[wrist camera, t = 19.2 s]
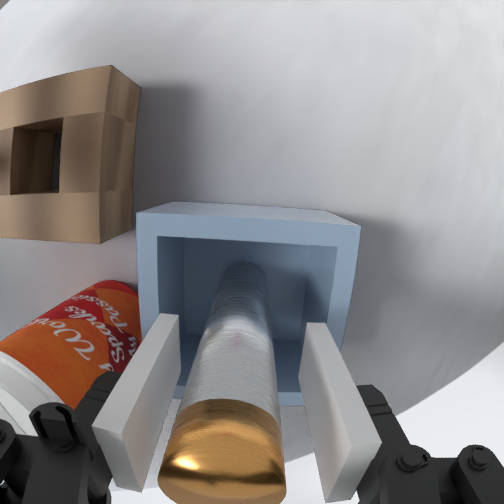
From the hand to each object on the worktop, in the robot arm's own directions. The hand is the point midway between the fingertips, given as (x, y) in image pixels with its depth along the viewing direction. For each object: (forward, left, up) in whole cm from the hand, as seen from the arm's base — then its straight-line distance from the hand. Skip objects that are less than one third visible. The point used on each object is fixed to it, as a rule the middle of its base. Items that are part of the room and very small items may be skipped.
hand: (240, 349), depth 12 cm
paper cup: (-10, -4, -9) cm, 14 cm away
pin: (0, 0, -8) cm, 8 cm away
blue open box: (0, 0, -9) cm, 9 cm away
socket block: (-13, +8, -9) cm, 18 cm away
